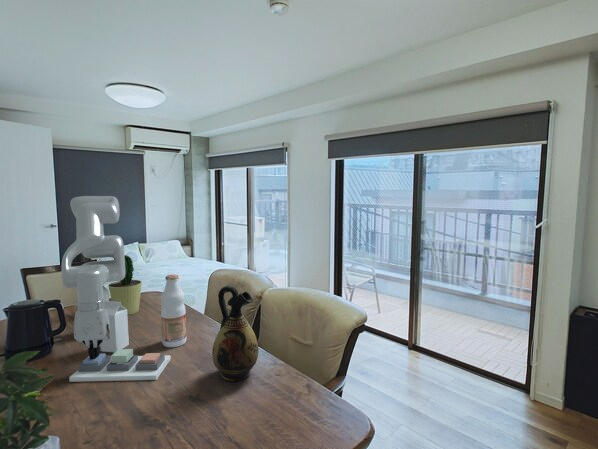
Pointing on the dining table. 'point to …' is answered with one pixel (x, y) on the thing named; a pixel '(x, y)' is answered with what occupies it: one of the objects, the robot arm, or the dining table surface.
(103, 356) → the slate-blue button
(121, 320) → the milk carton
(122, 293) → the potted cactus
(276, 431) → the dining table surface
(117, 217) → the robot arm
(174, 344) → the fruit juice
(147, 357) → the terracotta button
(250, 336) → the ceramic jug
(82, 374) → the button panel
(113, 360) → the sage-green button
